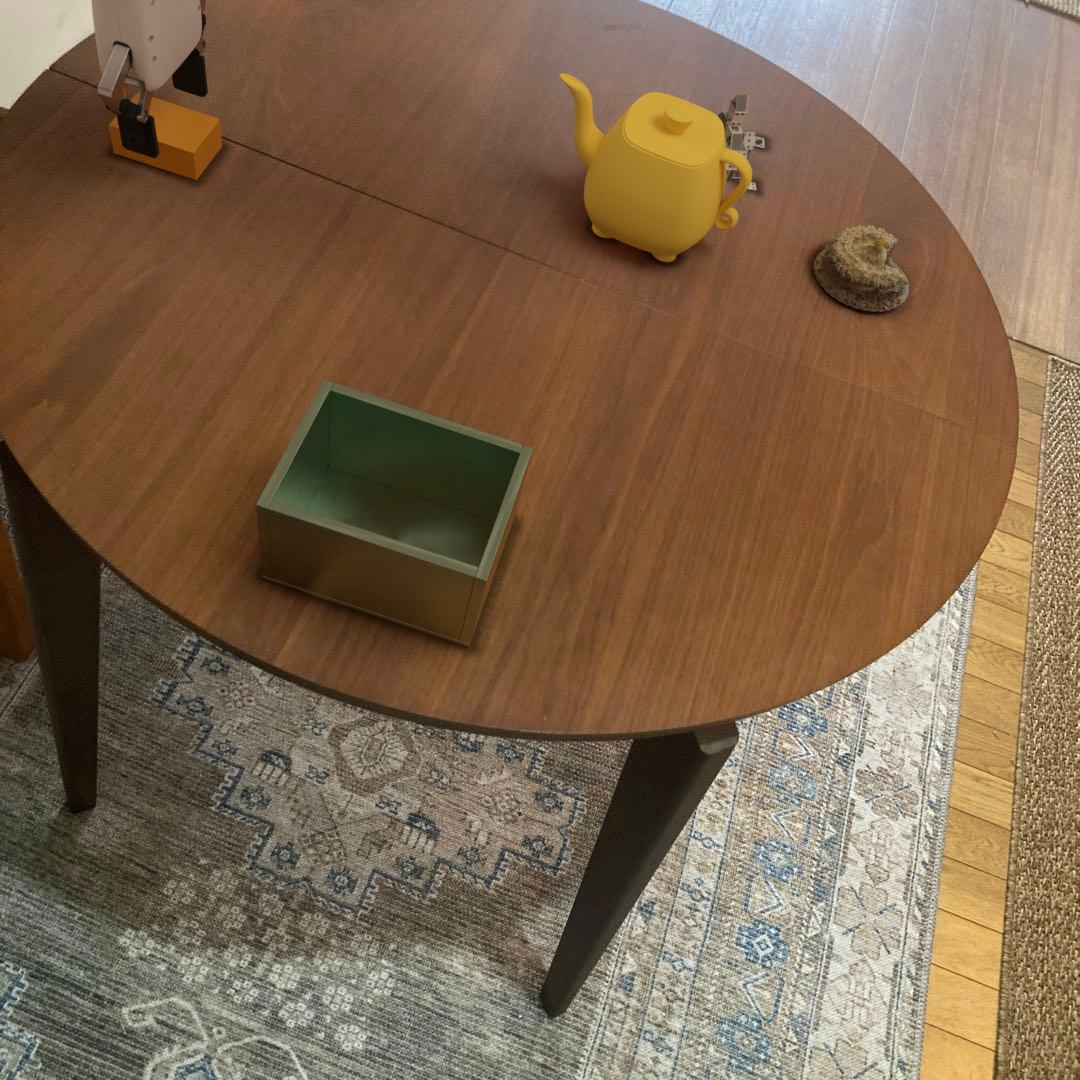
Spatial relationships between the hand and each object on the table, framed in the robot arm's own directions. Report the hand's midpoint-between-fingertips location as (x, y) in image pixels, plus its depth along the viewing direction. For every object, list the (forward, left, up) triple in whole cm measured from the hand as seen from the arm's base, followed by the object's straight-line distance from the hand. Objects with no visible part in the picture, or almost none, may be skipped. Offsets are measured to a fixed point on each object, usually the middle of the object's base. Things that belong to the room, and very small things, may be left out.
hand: (166, 120), depth 94 cm
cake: (+67, -12, -3) cm, 68 cm away
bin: (+19, -44, -3) cm, 48 cm away
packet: (0, 0, -3) cm, 3 cm away
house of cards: (+58, +5, -3) cm, 58 cm away
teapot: (+44, -5, -3) cm, 44 cm away
